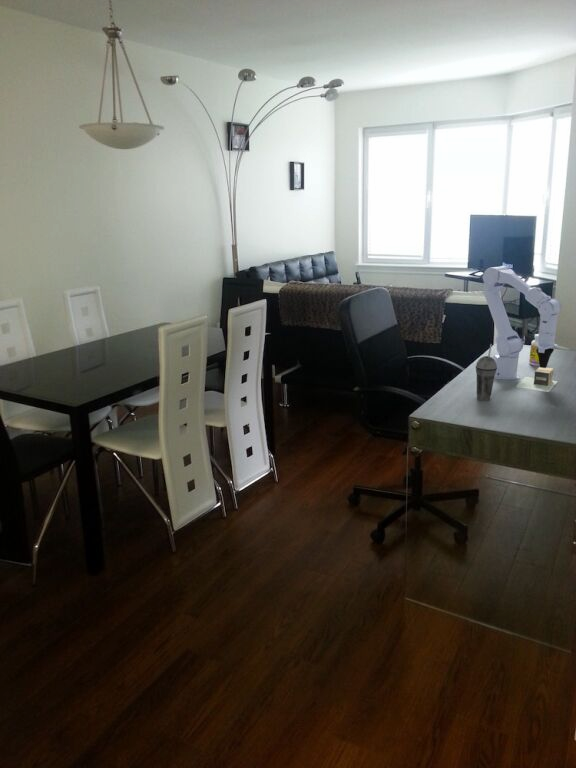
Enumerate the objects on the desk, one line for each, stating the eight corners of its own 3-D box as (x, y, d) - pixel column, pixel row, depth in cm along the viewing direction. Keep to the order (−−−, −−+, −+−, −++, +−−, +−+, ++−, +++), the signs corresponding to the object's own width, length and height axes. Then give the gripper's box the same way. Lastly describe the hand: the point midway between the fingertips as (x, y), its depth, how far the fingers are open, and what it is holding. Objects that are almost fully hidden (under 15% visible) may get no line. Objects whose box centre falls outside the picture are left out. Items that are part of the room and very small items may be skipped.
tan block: (548, 373, 230) (553, 368, 237) (535, 371, 233) (539, 366, 239) (547, 386, 232) (551, 380, 238) (533, 383, 234) (538, 378, 241)
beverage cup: (468, 396, 221) (473, 342, 215) (485, 394, 224) (490, 341, 218) (481, 402, 215) (485, 347, 209) (498, 400, 217) (503, 345, 211)
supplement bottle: (526, 362, 265) (529, 333, 261) (542, 362, 265) (545, 333, 261) (532, 366, 259) (535, 336, 255) (547, 366, 259) (551, 336, 255)
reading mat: (548, 392, 225) (548, 392, 225) (515, 387, 231) (515, 386, 231) (557, 381, 237) (557, 381, 237) (525, 377, 244) (525, 376, 244)
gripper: (554, 337, 220) (550, 373, 224) (562, 329, 231) (558, 364, 235) (534, 334, 224) (530, 370, 228) (542, 327, 235) (538, 361, 239)
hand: (543, 367), depth 232 cm, fingers closed
